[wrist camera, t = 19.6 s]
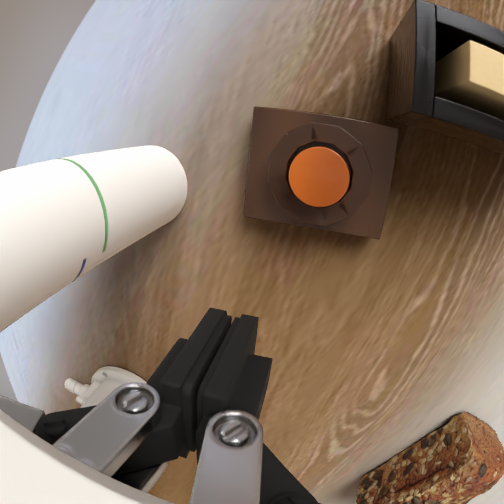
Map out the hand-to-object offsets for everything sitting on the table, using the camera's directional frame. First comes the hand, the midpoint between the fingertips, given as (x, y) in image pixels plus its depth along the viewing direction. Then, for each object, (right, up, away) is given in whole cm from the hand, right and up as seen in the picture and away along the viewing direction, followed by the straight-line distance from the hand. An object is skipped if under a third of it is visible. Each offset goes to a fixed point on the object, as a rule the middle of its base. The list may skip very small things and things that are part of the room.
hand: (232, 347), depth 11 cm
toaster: (+17, +15, +7) cm, 24 cm away
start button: (+5, +8, +9) cm, 13 cm away
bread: (+24, -24, +20) cm, 39 cm away
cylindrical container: (-8, +9, +16) cm, 20 cm away
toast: (+17, +15, +6) cm, 24 cm away
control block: (+6, +9, +12) cm, 16 cm away
